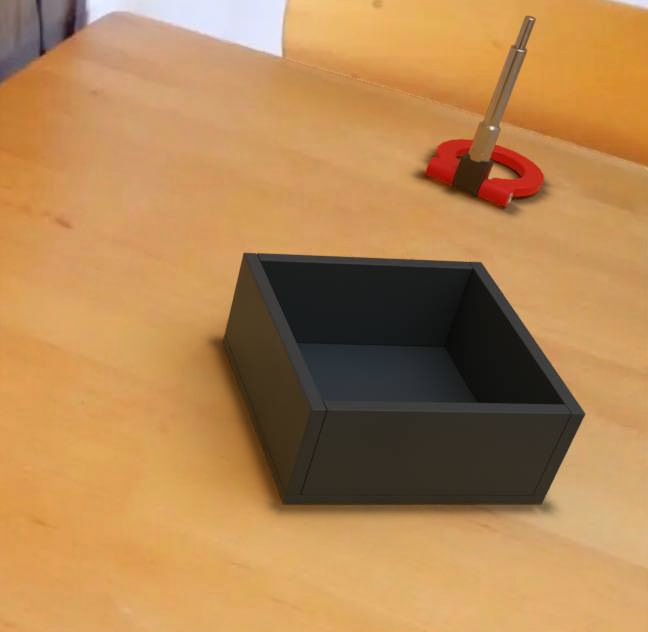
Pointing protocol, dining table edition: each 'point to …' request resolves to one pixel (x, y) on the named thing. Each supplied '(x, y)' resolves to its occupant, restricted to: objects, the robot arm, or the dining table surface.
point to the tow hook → (490, 144)
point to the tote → (395, 382)
